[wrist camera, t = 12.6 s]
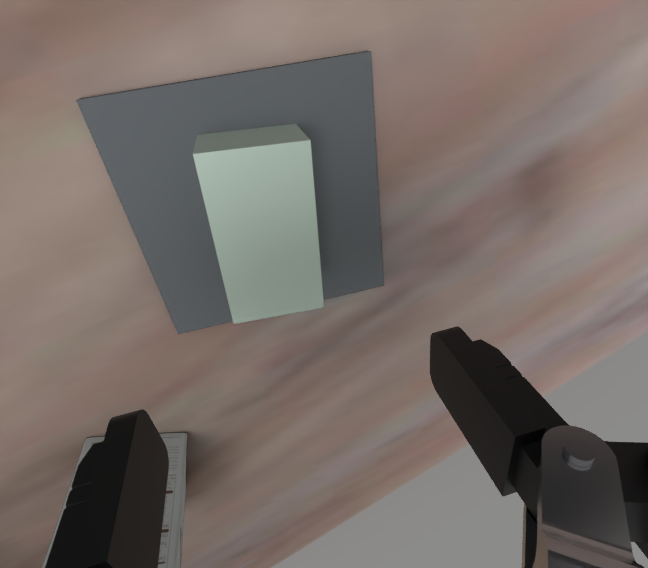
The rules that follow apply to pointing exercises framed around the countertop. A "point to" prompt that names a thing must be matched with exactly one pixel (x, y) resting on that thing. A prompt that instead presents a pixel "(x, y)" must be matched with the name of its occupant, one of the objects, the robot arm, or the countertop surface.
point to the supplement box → (173, 501)
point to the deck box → (262, 219)
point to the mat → (230, 115)
